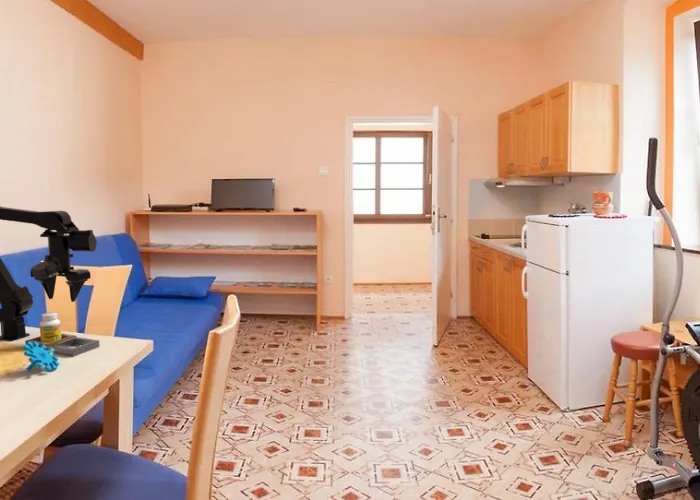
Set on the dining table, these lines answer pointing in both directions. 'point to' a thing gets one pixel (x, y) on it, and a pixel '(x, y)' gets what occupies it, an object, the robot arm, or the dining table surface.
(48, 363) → the gear
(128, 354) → the dining table surface
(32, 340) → the brown square frame
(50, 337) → the supplement bottle
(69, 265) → the robot arm
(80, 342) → the socket
